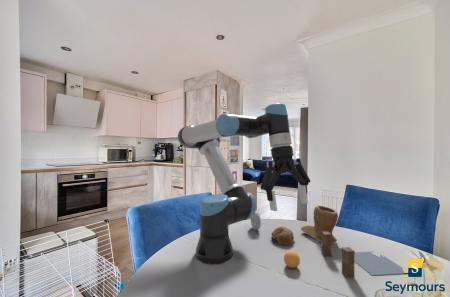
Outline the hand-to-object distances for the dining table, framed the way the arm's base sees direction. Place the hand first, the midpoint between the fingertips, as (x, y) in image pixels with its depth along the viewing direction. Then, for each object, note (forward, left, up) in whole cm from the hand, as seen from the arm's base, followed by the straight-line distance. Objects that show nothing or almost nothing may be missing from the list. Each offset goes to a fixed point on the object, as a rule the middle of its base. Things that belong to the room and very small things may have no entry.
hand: (289, 207), depth 69 cm
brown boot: (+25, +24, -23) cm, 42 cm away
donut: (-4, +36, -23) cm, 43 cm away
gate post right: (+19, -3, -23) cm, 30 cm away
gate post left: (+19, +9, -23) cm, 31 cm away
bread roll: (+6, +23, -23) cm, 33 cm away
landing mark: (+34, +3, -23) cm, 41 cm away
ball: (+2, +3, -20) cm, 21 cm away
